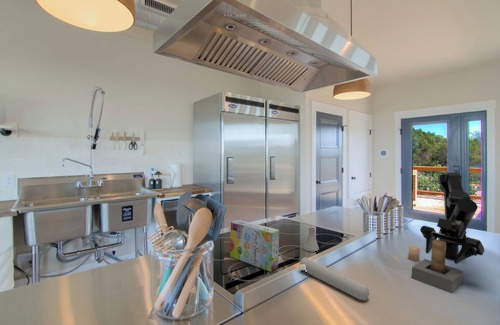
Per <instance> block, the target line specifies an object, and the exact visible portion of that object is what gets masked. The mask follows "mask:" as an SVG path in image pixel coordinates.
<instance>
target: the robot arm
mask: <svg viewBox="0 0 500 325" xmlns="http://www.w3.org/2000/svg"><path fill="white" fill-rule="evenodd" d="M462 184H463V176H462V175H461V173H458V172H446V173H444V174H439V175H438V177H437V185H438V186H439V189H440V191H441V192H442V193H443V198H444V199H443V203H444V204H443V205H444V218H438V221H437V224H436V227H438V228H439V231H438V232H437V230H435V228H434V227H431V226H429V225H428V226H427V225H422V226H421V227H420V229H419V232H420V233H421V234H422V236H423V238H425V253H426V254H429V253H431V251H432V240H441V241H444V242H446V256H445V259H446V258H447V259H450V260H452V261H453V260H454V261H453V262H454V264H456V265H457V264H459V263H461V262H462V261H464V260H465V259H468V258H471V257H472V256H475V257H477V256H483V255H484V253H485V248H484V245H483V244H482V241H481V240H480V239H476V238H473V237H469V236H467V231H466V230H467V229H468V226H469V225H470V223H471V221H472V219H473V217H474V216H475V214H476V212H477V210H478V204H477V203H476V202H475V201H474V200H473V198H471V196H470V194H469V193H467V192H465V191H464V187H463V185H462ZM459 246H461V248H460V250H459Z"/></svg>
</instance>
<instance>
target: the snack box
mask: <svg viewBox="0 0 500 325" xmlns="http://www.w3.org/2000/svg"><path fill="white" fill-rule="evenodd" d="M229 236H230V240H229V242H230V243H229V246H230V247H229V257H230V258H233V259H236V260H238V261H241V262H242V263H243V262H245V263H247V264H249V265H251V266H255V267H256V268H257V267H258V268H260V269H262V270H265V271H267V272H270V273H272V272H273V271H275V270H277V269H278V268H279V244H280V229H277V228H273V227H269V226H264V225H261V224H257V223H254V222H253V223H252V222H250V221H249V222H248V221H245V220H240V219H237V220H234V221H231V222H230V235H229Z"/></svg>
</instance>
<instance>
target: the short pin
mask: <svg viewBox="0 0 500 325" xmlns="http://www.w3.org/2000/svg"><path fill="white" fill-rule="evenodd" d="M420 249H421V248H419V247H417V246H411V245H410V246H408V254H407V255H408V256H407V260H409V261H411V262H415V263H417V262H418V263H419V262H420V253H421V251H420Z"/></svg>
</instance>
